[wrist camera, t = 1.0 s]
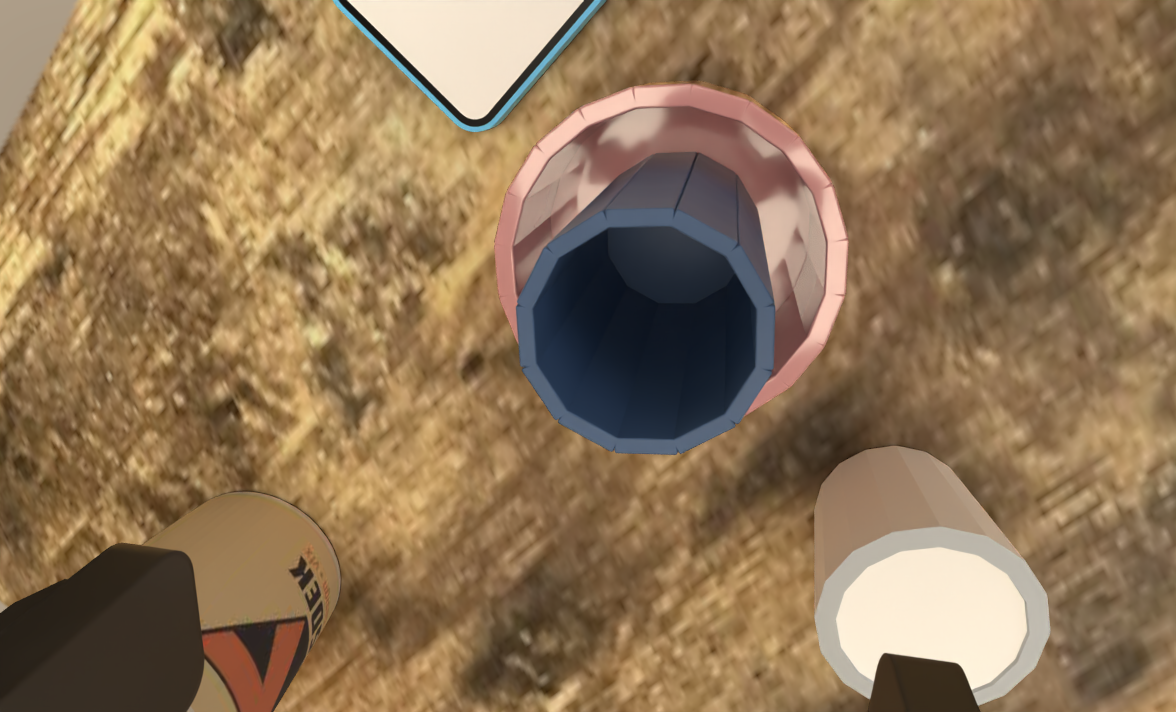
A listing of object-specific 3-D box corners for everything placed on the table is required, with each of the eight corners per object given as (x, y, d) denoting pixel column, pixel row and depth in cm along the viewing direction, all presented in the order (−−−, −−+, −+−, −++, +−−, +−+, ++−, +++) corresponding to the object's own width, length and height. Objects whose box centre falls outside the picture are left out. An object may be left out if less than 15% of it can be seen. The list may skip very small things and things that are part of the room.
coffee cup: (353, 671, 39) (200, 916, 28) (170, 624, 40) (-51, 842, 29) (365, 499, 35) (197, 698, 24) (165, 452, 36) (-87, 623, 25)
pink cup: (832, 73, 27) (858, 75, 21) (818, 366, 30) (838, 434, 25) (529, 87, 29) (480, 93, 23) (547, 363, 32) (508, 426, 26)
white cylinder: (772, 464, 32) (782, 566, 25) (953, 405, 30) (1014, 499, 23) (833, 607, 34) (857, 738, 27) (1008, 560, 32) (1080, 688, 25)
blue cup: (759, 149, 28) (778, 205, 17) (756, 310, 30) (771, 458, 18) (594, 154, 29) (507, 211, 17) (601, 310, 30) (526, 450, 19)
